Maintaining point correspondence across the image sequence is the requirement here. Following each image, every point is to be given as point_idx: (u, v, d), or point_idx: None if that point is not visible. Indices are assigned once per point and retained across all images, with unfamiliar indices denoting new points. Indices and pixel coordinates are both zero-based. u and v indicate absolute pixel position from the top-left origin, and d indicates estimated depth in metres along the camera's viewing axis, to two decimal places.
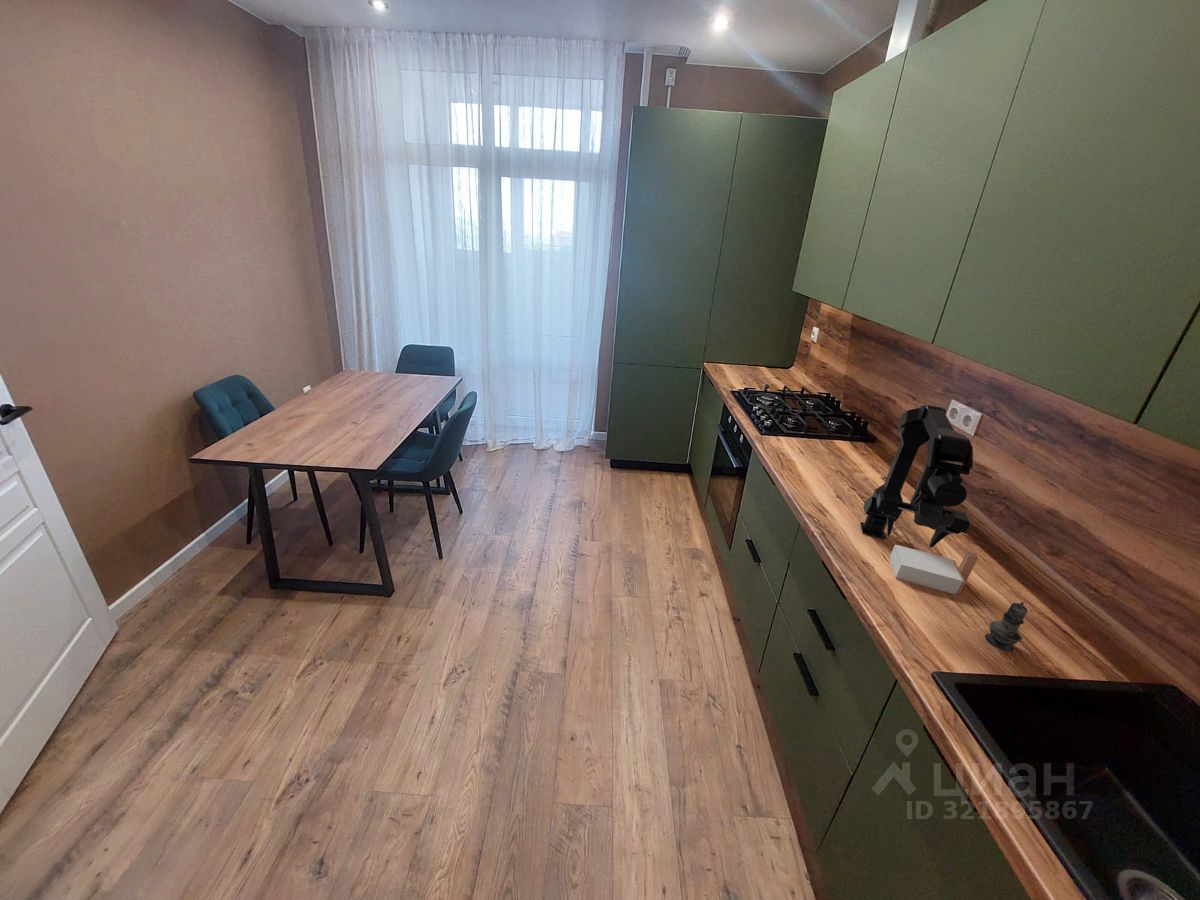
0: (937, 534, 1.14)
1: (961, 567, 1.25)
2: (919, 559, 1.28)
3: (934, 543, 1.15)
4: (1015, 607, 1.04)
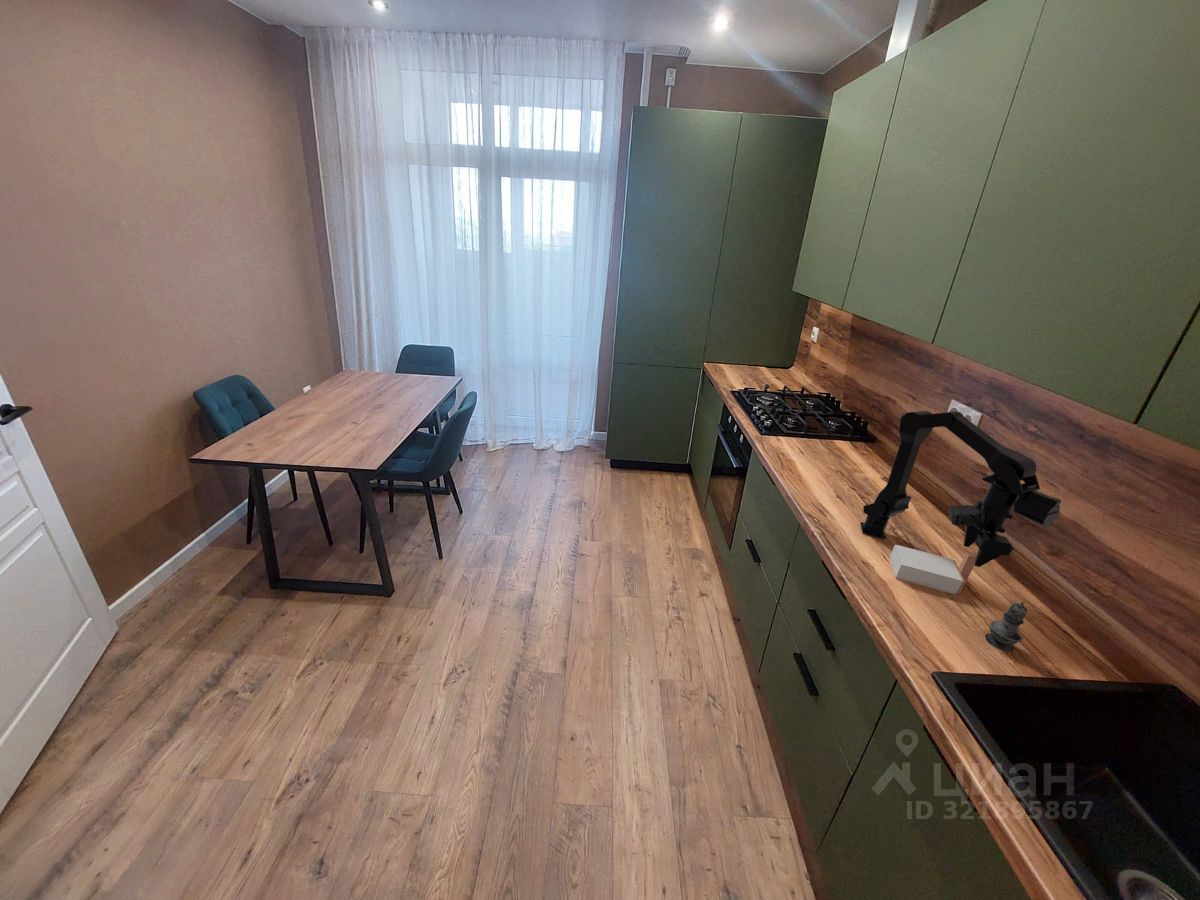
0: None
1: (961, 567, 1.25)
2: (919, 559, 1.28)
3: (975, 560, 1.19)
4: (1015, 607, 1.04)
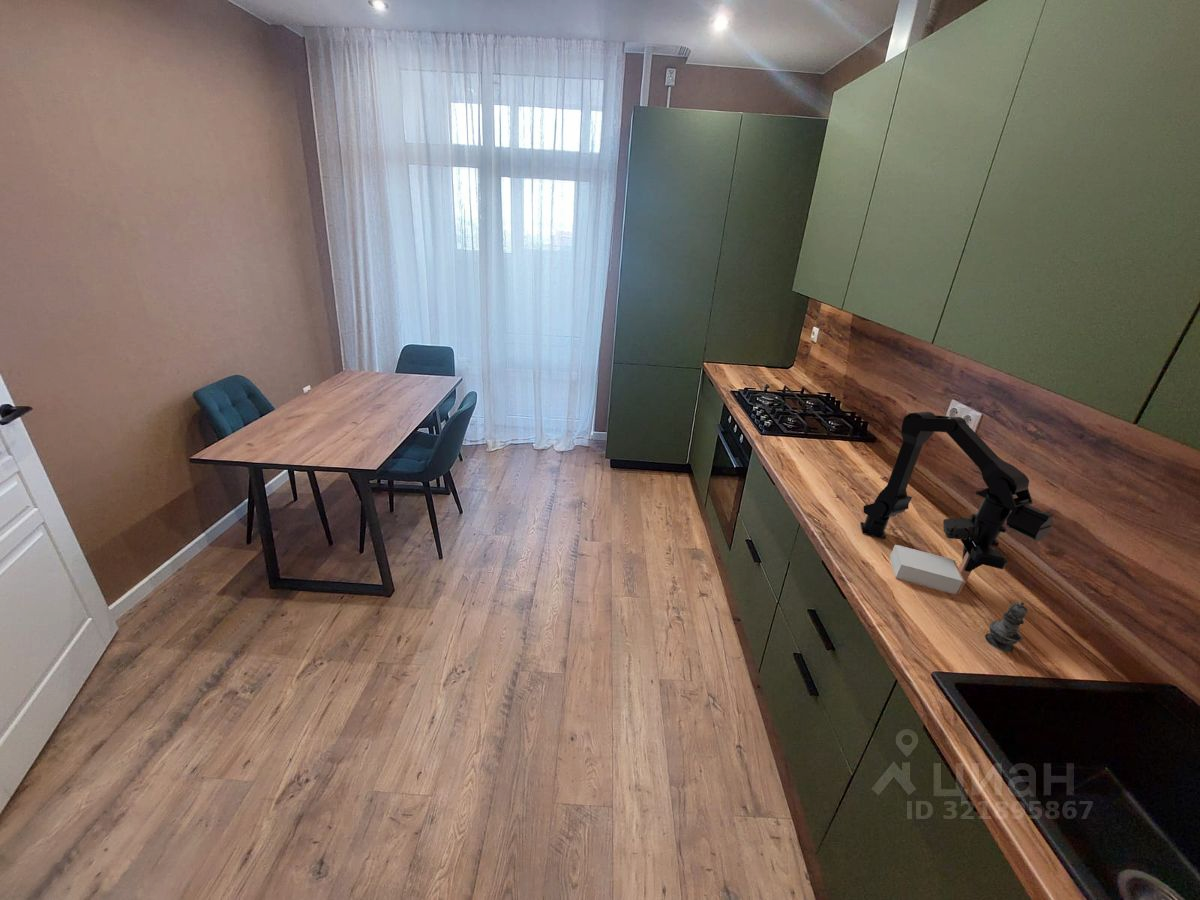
0: None
1: (961, 567, 1.25)
2: (919, 559, 1.28)
3: (965, 565, 1.23)
4: (1015, 607, 1.04)
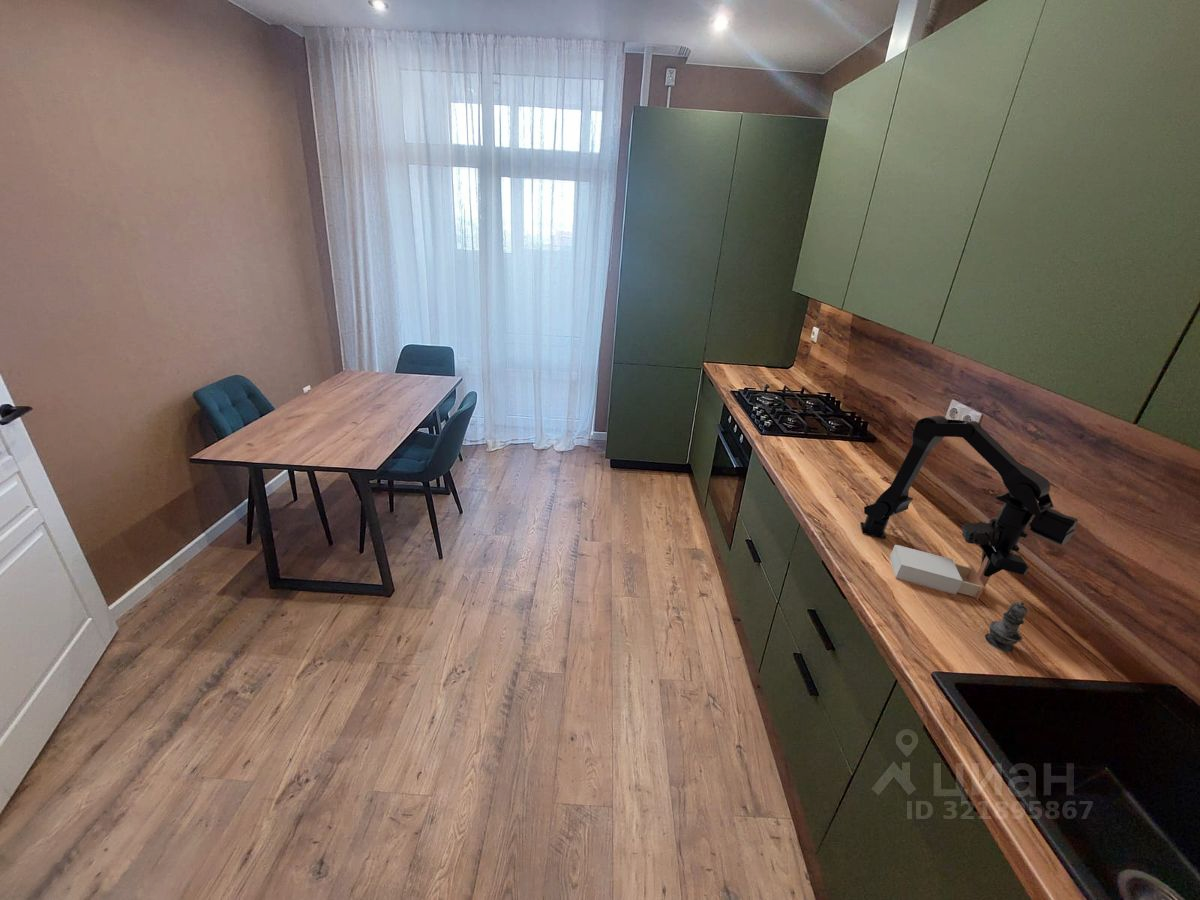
0: None
1: (980, 572, 1.23)
2: (919, 559, 1.28)
3: (985, 570, 1.22)
4: (1015, 607, 1.04)
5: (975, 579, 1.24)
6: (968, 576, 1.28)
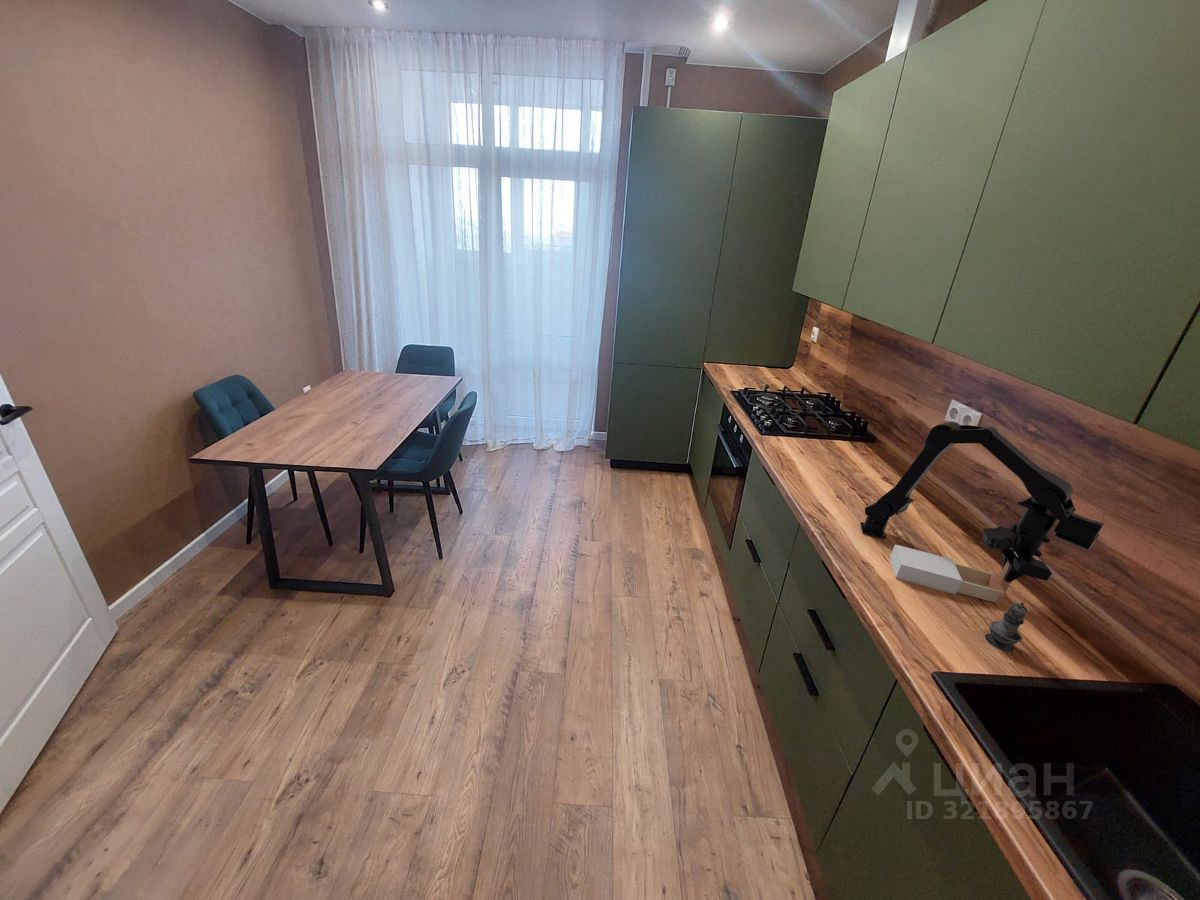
0: None
1: (1001, 577, 1.22)
2: (919, 559, 1.28)
3: (1006, 576, 1.20)
4: (1015, 607, 1.04)
5: (996, 584, 1.23)
6: (987, 581, 1.27)
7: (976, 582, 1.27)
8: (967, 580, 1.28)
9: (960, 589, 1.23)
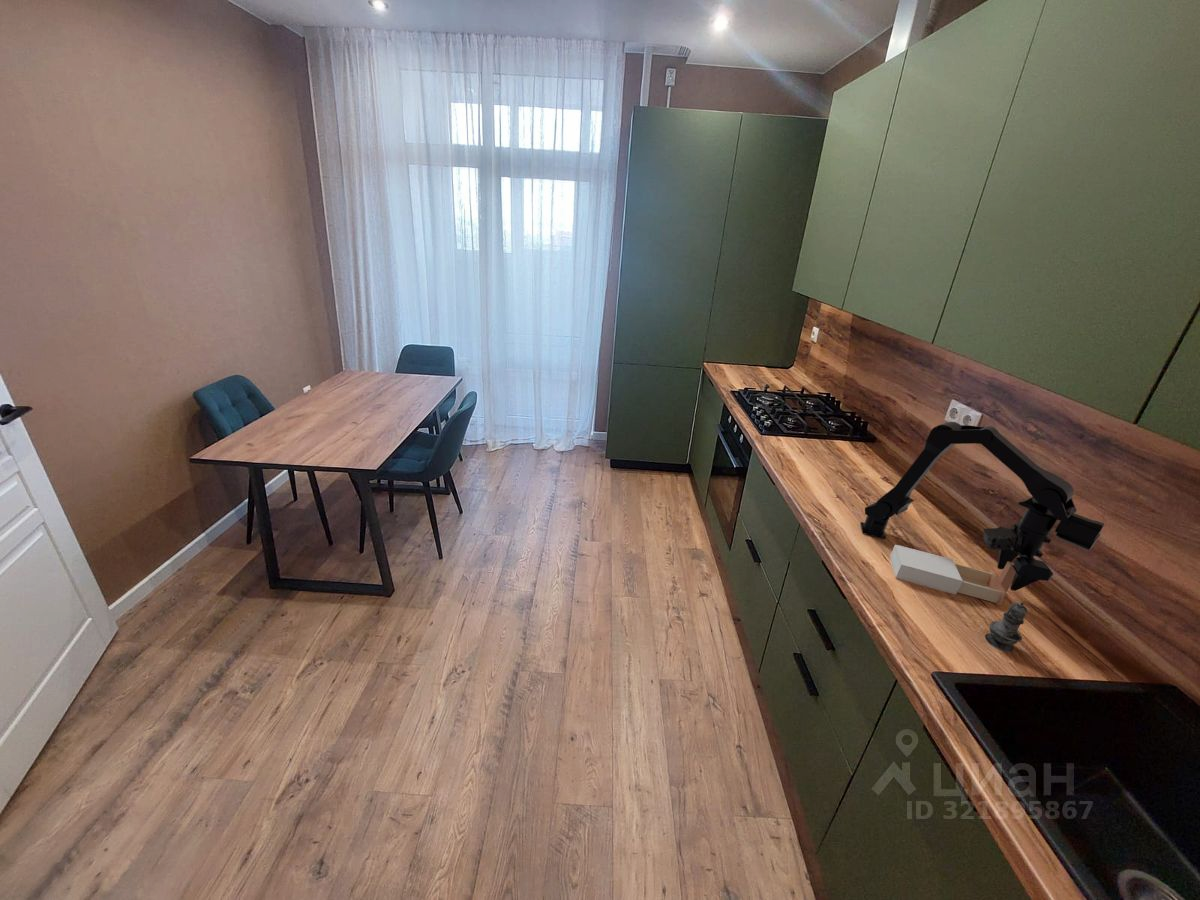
0: None
1: (1001, 578, 1.22)
2: (919, 559, 1.28)
3: (1012, 584, 1.17)
4: (1015, 607, 1.04)
5: (996, 584, 1.23)
6: (988, 581, 1.27)
7: (977, 582, 1.27)
8: (968, 580, 1.28)
9: (961, 589, 1.23)
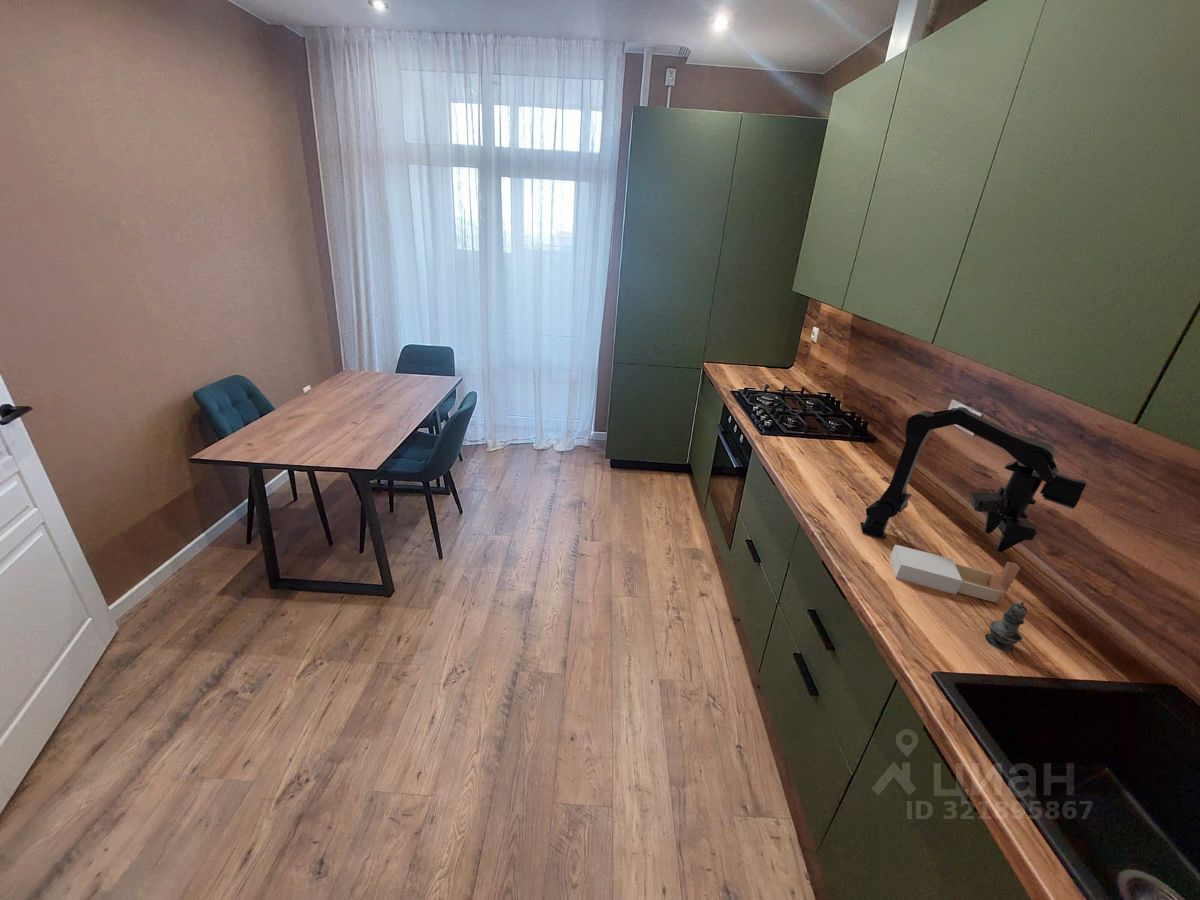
0: None
1: (1001, 578, 1.22)
2: (919, 559, 1.28)
3: (998, 546, 1.21)
4: (1015, 607, 1.04)
5: (996, 584, 1.23)
6: (988, 581, 1.27)
7: (977, 582, 1.27)
8: (968, 580, 1.28)
9: (961, 589, 1.23)
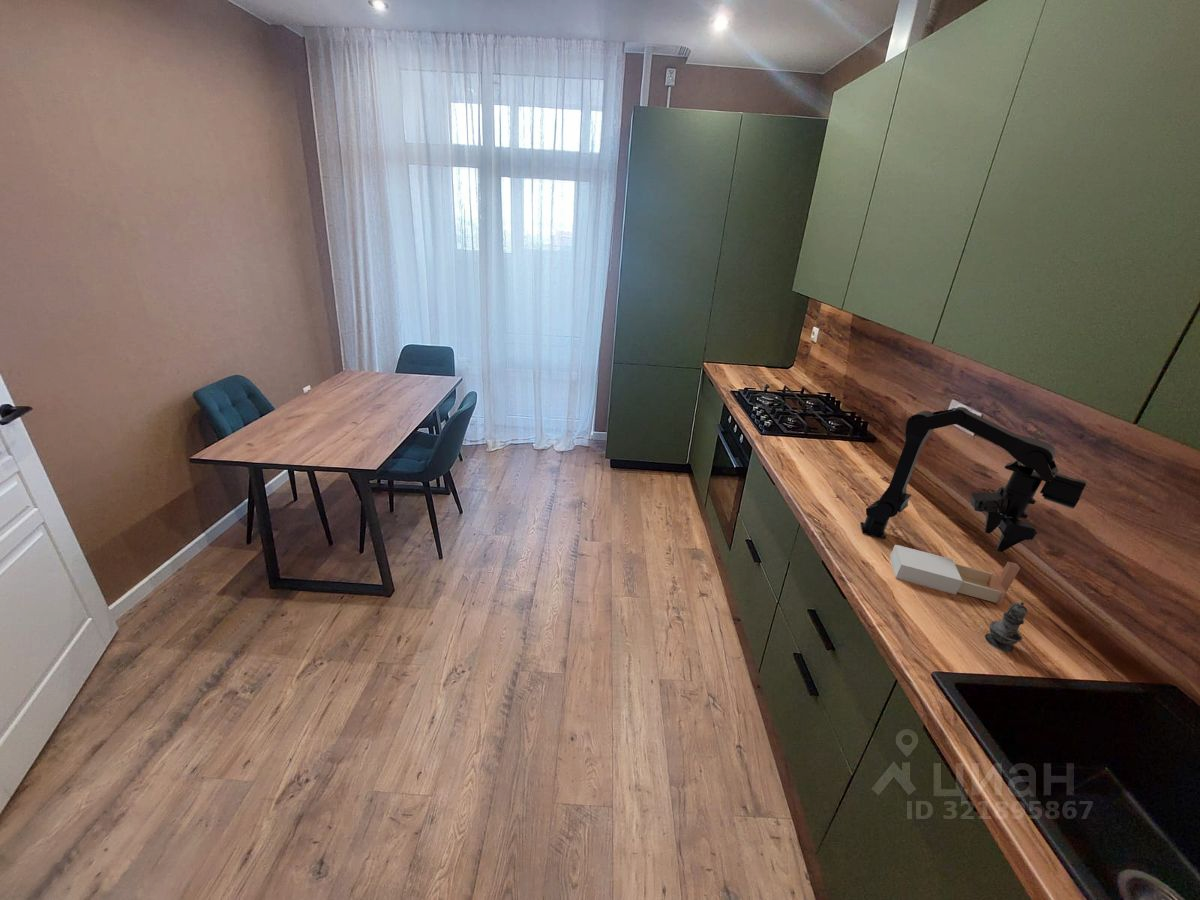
0: None
1: (1001, 578, 1.22)
2: (919, 559, 1.28)
3: (998, 545, 1.21)
4: (1015, 607, 1.04)
5: (996, 584, 1.23)
6: (988, 581, 1.27)
7: (977, 582, 1.27)
8: (968, 580, 1.28)
9: (961, 589, 1.23)
